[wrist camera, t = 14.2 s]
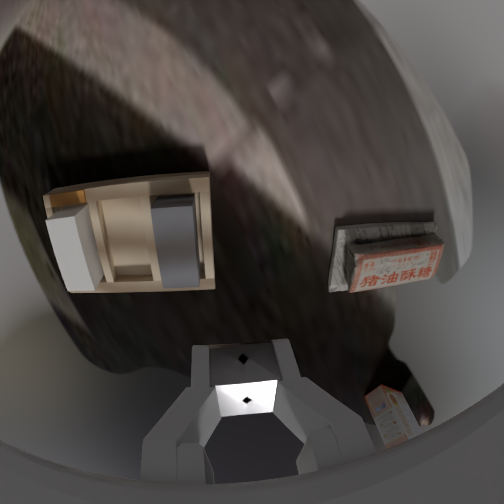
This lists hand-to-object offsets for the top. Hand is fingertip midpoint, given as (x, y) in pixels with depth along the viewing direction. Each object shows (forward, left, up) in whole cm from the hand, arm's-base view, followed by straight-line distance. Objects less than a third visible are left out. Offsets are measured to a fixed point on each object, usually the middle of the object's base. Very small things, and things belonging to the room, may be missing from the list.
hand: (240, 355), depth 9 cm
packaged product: (+10, +23, -25) cm, 36 cm away
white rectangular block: (+6, -17, -22) cm, 29 cm away
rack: (+6, -11, -24) cm, 27 cm away
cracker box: (+53, +38, -24) cm, 70 cm away
